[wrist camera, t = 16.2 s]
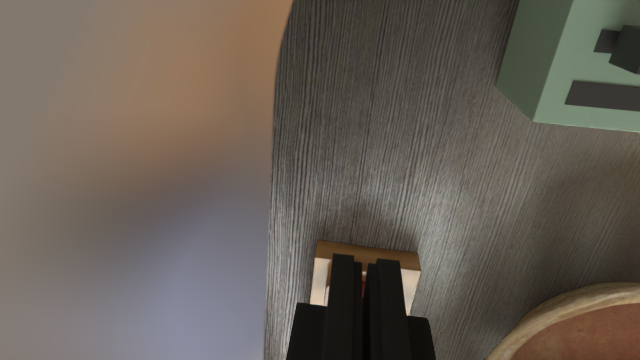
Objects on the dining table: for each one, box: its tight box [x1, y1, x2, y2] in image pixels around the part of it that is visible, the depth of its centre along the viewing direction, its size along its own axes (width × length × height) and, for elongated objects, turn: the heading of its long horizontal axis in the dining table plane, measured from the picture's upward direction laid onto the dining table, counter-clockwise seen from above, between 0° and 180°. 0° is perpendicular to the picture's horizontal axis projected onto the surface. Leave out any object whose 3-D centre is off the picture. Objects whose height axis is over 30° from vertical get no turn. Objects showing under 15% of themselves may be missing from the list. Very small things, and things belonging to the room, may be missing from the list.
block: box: [310, 240, 421, 316], centre depth 42 cm, size 17×10×4 cm, turn 174°
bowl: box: [484, 282, 640, 360], centre depth 39 cm, size 24×24×8 cm
